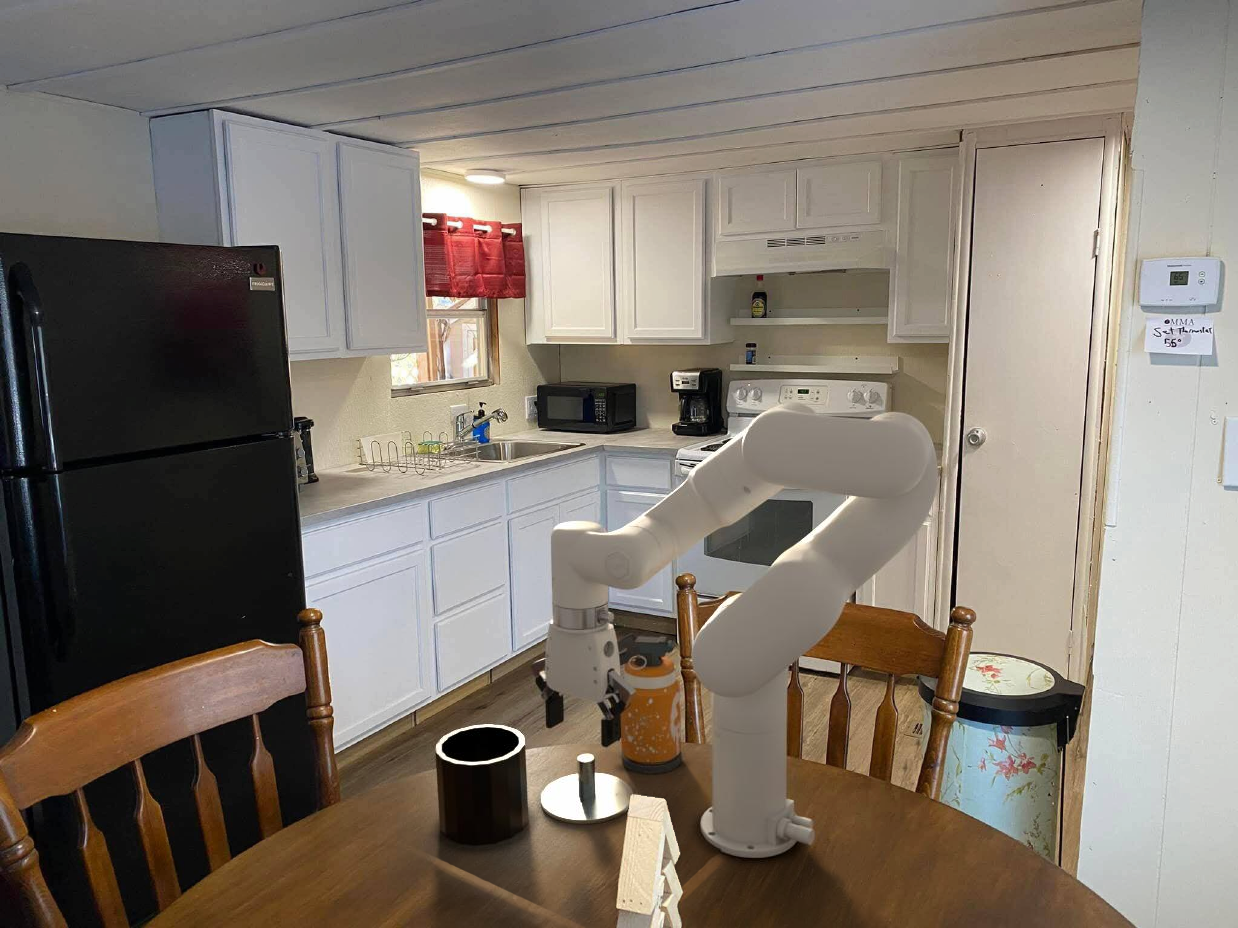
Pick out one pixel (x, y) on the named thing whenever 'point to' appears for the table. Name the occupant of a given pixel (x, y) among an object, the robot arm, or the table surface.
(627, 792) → the lid
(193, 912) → the table surface
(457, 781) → the dark pen holder
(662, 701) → the canister
